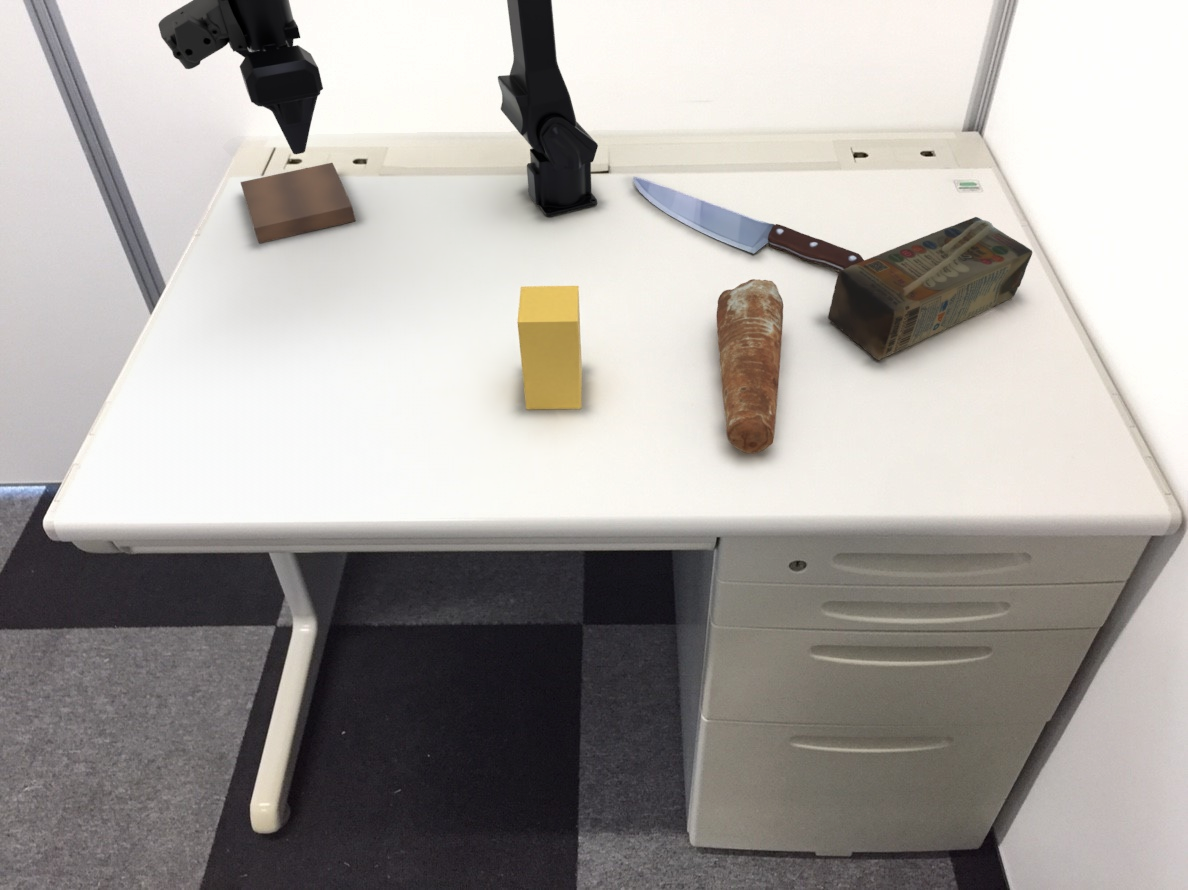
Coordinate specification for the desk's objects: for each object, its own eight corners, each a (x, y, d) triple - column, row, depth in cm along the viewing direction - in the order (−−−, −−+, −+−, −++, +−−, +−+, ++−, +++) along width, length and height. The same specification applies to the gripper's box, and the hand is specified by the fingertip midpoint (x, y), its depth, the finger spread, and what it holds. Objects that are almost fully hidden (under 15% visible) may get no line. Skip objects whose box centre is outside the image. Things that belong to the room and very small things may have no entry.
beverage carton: (1019, 300, 93) (1041, 244, 88) (878, 367, 86) (893, 311, 81) (960, 261, 98) (977, 207, 93) (821, 322, 91) (832, 267, 86)
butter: (529, 373, 87) (520, 286, 79) (581, 372, 86) (578, 285, 79) (526, 409, 83) (517, 322, 76) (581, 409, 83) (577, 321, 76)
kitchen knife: (844, 288, 94) (848, 272, 93) (610, 200, 109) (610, 185, 107) (866, 269, 97) (869, 254, 95) (634, 185, 111) (634, 171, 110)
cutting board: (336, 177, 113) (332, 162, 111) (355, 221, 106) (352, 206, 104) (245, 196, 110) (240, 181, 109) (258, 243, 103) (253, 228, 101)
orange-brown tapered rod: (779, 324, 91) (787, 277, 87) (777, 463, 78) (786, 416, 74) (715, 319, 92) (720, 273, 88) (703, 456, 78) (707, 409, 74)
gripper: (138, -57, 83) (194, 109, 94) (157, 14, 71) (218, 195, 82) (263, -75, 86) (302, 88, 97) (301, -9, 74) (342, 168, 85)
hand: (290, 132), depth 90 cm, fingers open, 9 cm apart
